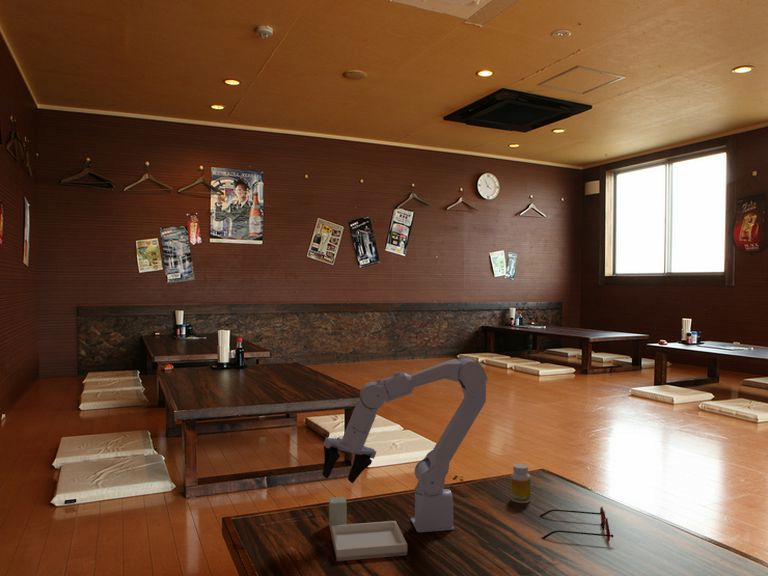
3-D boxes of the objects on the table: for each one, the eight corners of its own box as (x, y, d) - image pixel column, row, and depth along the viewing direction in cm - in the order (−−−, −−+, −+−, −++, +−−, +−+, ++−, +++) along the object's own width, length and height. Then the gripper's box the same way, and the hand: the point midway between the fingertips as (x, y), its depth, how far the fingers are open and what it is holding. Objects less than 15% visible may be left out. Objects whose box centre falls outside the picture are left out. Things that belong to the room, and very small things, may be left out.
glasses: (613, 547, 136) (613, 526, 136) (541, 540, 140) (541, 520, 140) (604, 523, 150) (604, 504, 150) (538, 517, 153) (538, 498, 153)
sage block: (344, 523, 148) (344, 496, 148) (346, 530, 144) (346, 502, 144) (329, 524, 147) (329, 497, 147) (330, 531, 144) (330, 503, 143)
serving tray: (395, 530, 144) (395, 520, 144) (407, 555, 131) (407, 544, 131) (331, 535, 141) (331, 525, 141) (336, 561, 128) (336, 550, 128)
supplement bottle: (530, 504, 161) (530, 469, 161) (510, 502, 162) (511, 468, 162) (529, 497, 166) (529, 463, 166) (510, 495, 168) (510, 462, 167)
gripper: (374, 428, 152) (354, 476, 152) (328, 416, 145) (307, 466, 145) (387, 439, 146) (366, 489, 146) (339, 426, 139) (318, 479, 139)
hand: (337, 478), depth 145 cm, fingers open, 7 cm apart
